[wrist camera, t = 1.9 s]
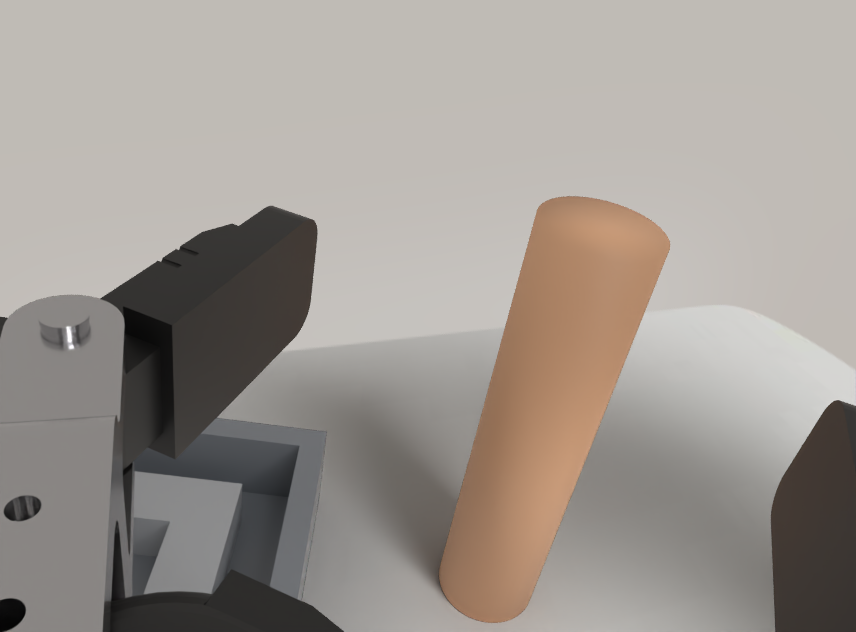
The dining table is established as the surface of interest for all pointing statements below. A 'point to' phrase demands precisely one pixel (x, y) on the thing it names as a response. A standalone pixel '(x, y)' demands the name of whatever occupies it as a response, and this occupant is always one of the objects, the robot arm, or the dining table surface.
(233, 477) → the box
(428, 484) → the dining table surface
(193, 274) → the robot arm
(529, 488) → the peg
